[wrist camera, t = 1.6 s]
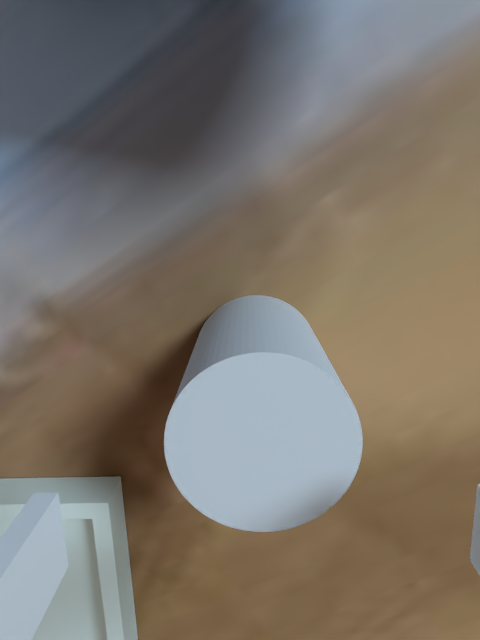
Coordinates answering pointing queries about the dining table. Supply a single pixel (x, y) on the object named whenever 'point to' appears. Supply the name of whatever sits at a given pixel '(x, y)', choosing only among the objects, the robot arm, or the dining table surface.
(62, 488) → the tray
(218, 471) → the white round cylinder
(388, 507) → the dining table surface
